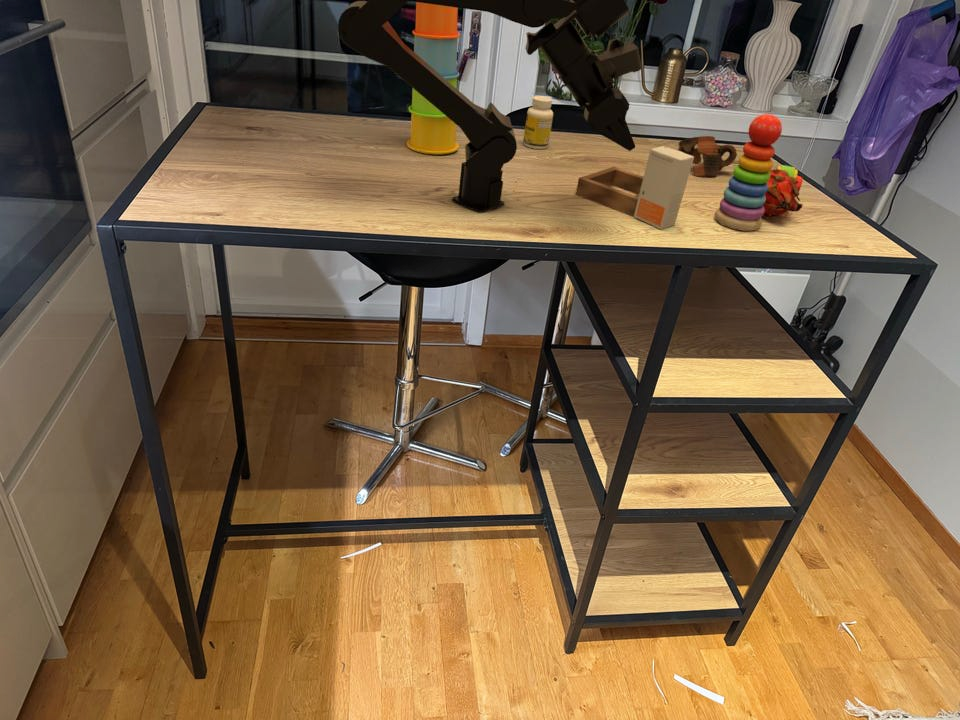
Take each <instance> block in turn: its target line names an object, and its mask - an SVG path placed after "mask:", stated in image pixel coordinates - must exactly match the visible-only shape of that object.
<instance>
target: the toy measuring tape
mask: <svg viewBox="0 0 960 720" xmlns="http://www.w3.org/2000/svg"><path fill="white" fill-rule="evenodd" d="M775 169H780V170H785V171H787V172H788V173H789V176H790V177H794V178H796V179H797V181H798V184H796V185H795V186H796V187H797V188H798V189H799V191H800V190H801V188H802V183H803V180H804V179H803V177H802V176H799V175H798V172H799V171H798V169H796V167H794V166H790V165H784V164H781V165H778V166H777V167H776V168H775Z"/></svg>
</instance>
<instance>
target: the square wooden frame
mask: <svg viewBox="0 0 960 720" xmlns="http://www.w3.org/2000/svg"><path fill="white" fill-rule="evenodd" d="M643 177H644V175H643V176H642V175H640V174H636V173H633V172H631V171H627V170H625V169H622V168H619V167H617V166H611V167H609V168H606V169H602V170H599V171H597V172H593V173H589V174H587V175H583V176H581V177H578V181H577V186H576V191H575V195H577V196H579V197H582V198H585V199H587V200H590V201H593V202H595V203H597V204H600V205H603V206H606V207H608V208H611V209H614V210H616V211H618V212H621V213H624V214H626V215H629V216H632V217H634V213H635V209H636V205H637V201H638V197H639V193H640V189H641V185H642V181H643ZM612 186H613V187H612ZM615 187H617V188H615ZM618 188H620V189H622V190H619V189H618ZM623 190H624V191H623ZM625 190H626V191H628V192H630V193H633V194H630V193H628V192H625ZM634 194H635V195H634Z"/></svg>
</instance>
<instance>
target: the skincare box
mask: <svg viewBox="0 0 960 720" xmlns="http://www.w3.org/2000/svg"><path fill="white" fill-rule="evenodd" d="M648 154H649V155H648V158H647V162H646V165H645V169H644V174H643V181H642V185H641V189H640V193H639V197H638V201H637V205H636V209H635V213H634V216H633V218H635V219H637V220H638V221H639V220H640V221H641V222H644V223H646V224H647V225H648V224H649V225H651V226H653V227H655V228H657V229H659V230H665V229H667V228H670V227H673V226H675V225H676V221H677V218H678V214H679V211H680V208H681V204H682V202H683V201H682V200H683V197H684V194H685V190H686V188H687V187H686V186H687V184H688V179H689V176H690V173H691V170H692V166H693V164H694V163H693V160H694V156H691V155H688V154H685V153H683V152H681V151H678V149H673V148H670V147H668V146H666V145H665V146H664V145H662V146H659V147H658V146H657V147H653V148H650V151H649V153H648Z"/></svg>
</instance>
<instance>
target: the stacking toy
mask: <svg viewBox="0 0 960 720" xmlns="http://www.w3.org/2000/svg"><path fill="white" fill-rule="evenodd" d="M782 131H783V124H782V122H781V120H780V119H779V118H778V117H777V116H775V115H773V114H770V113H764V114H760V115H757V117H754V119H753V120H752V121H751V122H750V125H749V127H748V138H749V140H750V141H747V142H746V143H745V144H744V145H743V147H742V151H743V154H742V155H741V156H739V157H738V164H737V165H736V166H735V167H734V168H733V171H732V173H733V176H731V177H730V178H729V180H728V186H727V187H726V188H725V189H724V191H723V198H722V199H721V200H720V203H719V207H717V209H716V210H715V213H714V218H715V220H716V221H717V222H718V223H720V225H723V226H725V227H727V228H729V229H734V230H739V231H745V232H747V231H748V232H749V231H755V230H757V229H758V228H760V227H761V225H762V223H763V220H762V219H763V218H762V217H763V214H764V211H765V210H764V207H763V204H764V203H765V201H766V197H765V195H764V194H765V193H766V192H767V190H768V185H767V183H766V182H768V180H769V179H770V173H769V171H770V170H772V169H773V165H774V163H773V160H772V158H774V155H775V153H776V149H775V147H774V146H773V144H776V142H777V141H778V140H779V138H780V136H781V135H782V133H783V132H782Z"/></svg>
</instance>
